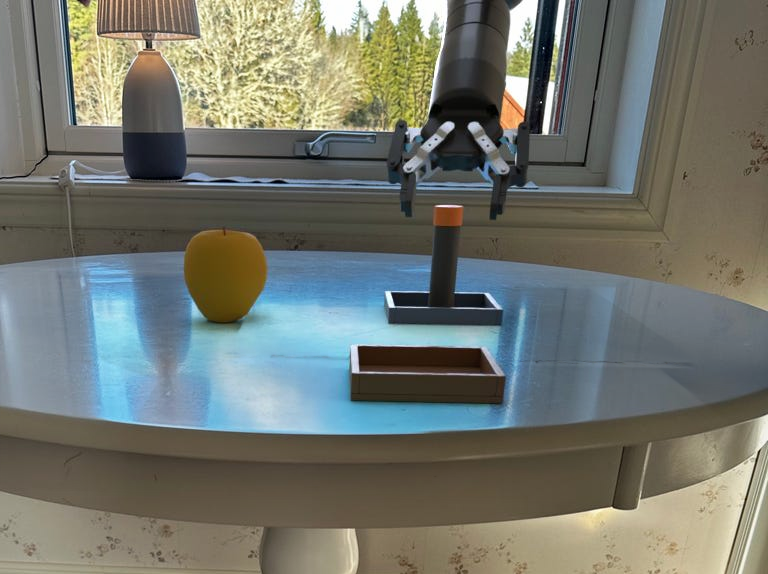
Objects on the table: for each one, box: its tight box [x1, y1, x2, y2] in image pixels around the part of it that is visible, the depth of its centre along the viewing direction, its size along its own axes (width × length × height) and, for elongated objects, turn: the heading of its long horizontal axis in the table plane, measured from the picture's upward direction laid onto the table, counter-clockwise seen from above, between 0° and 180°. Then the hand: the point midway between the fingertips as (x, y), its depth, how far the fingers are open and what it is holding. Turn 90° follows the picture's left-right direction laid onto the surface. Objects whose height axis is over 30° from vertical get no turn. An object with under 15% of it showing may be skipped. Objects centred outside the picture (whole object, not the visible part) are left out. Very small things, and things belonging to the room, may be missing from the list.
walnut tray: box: [348, 343, 507, 404], centre depth 74 cm, size 11×10×2 cm
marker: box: [428, 204, 464, 308], centre depth 96 cm, size 3×3×10 cm
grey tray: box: [383, 290, 504, 327], centre depth 99 cm, size 11×10×2 cm
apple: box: [183, 226, 268, 324], centre depth 96 cm, size 8×8×9 cm
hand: (450, 213), depth 96 cm, fingers open, 8 cm apart
